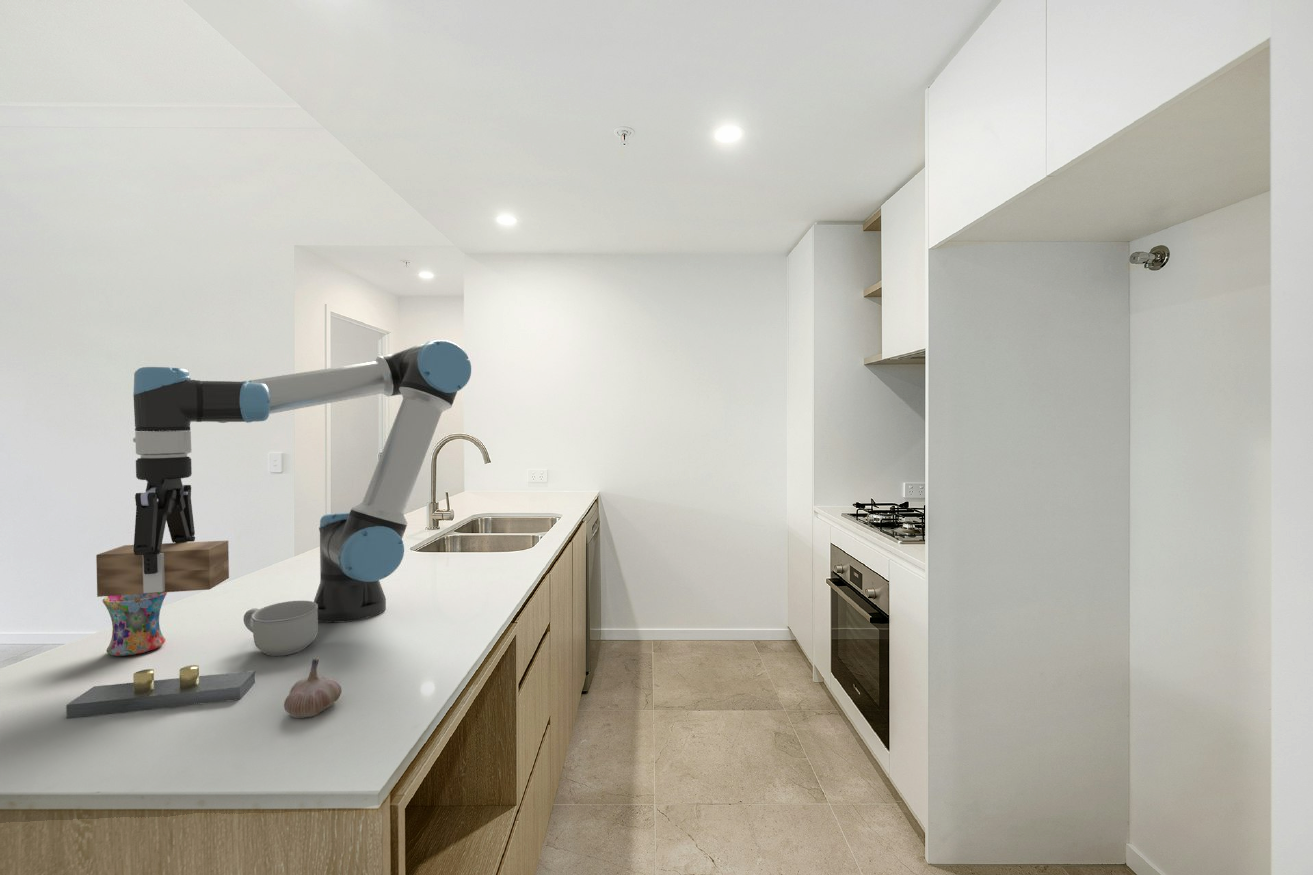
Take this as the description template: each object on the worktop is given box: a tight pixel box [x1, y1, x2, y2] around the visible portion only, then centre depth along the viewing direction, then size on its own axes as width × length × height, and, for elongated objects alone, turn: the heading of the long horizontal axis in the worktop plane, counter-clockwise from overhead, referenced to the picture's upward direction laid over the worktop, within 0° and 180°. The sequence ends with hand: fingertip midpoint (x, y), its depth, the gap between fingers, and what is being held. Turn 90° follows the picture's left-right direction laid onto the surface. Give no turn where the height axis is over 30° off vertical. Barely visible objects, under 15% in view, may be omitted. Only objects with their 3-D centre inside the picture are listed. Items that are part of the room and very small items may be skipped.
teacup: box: [243, 600, 319, 657], centre depth 114 cm, size 14×11×8 cm
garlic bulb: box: [283, 657, 342, 719], centre depth 90 cm, size 8×7×8 cm
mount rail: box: [65, 664, 256, 719], centre depth 93 cm, size 22×6×5 cm, turn 106°
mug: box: [102, 592, 168, 657], centre depth 115 cm, size 12×9×11 cm
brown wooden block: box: [95, 540, 230, 598], centre depth 105 cm, size 16×8×7 cm, turn 106°
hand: (167, 584), depth 105 cm, fingers closed on brown wooden block, 8 cm apart
